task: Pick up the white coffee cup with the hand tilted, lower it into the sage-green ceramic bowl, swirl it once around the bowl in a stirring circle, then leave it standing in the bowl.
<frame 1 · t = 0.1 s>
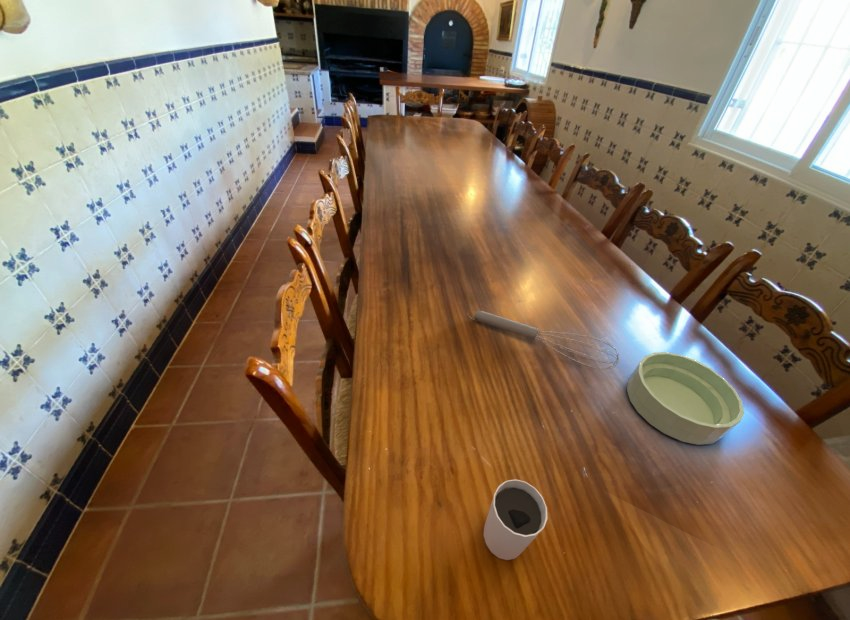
white coffee cup: (503, 536, 50), on the table
bowl: (672, 405, 70), on the table
kitchen whisk: (535, 344, 81), on the table
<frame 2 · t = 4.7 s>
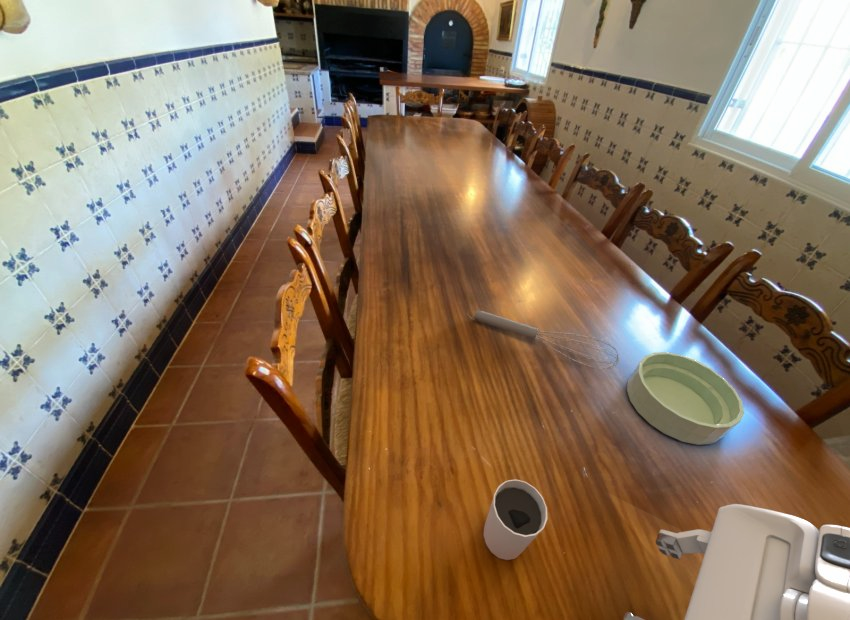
hand: (643, 579, 34), 15 cm above the table, tool tilted 45°, fingers open, 8 cm apart
nothing on the table moved.
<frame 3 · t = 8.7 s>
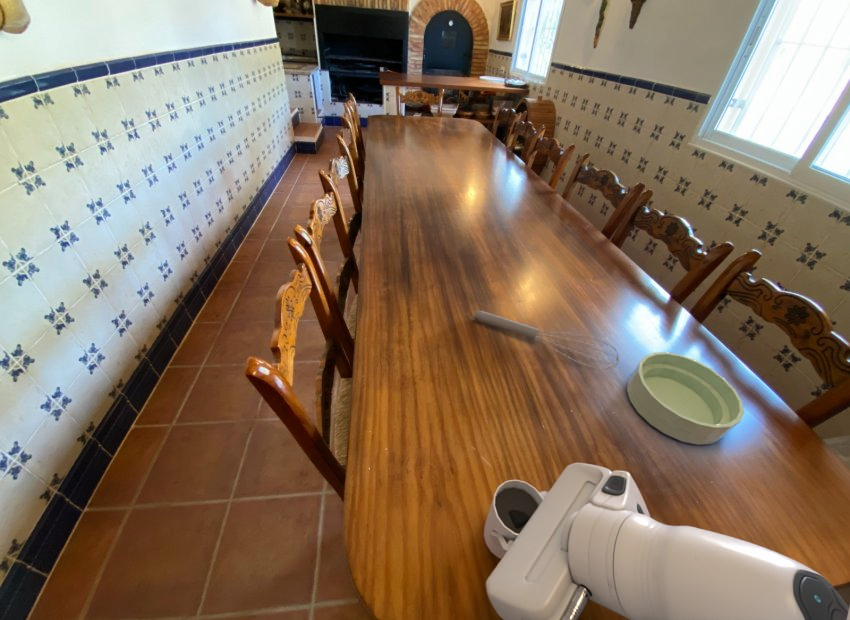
hand: (508, 517, 47), 5 cm above the table, tool tilted 45°, fingers closed on white coffee cup, 4 cm apart
white coffee cup: (503, 536, 50), on the table, touching gripper
everything else where it was.
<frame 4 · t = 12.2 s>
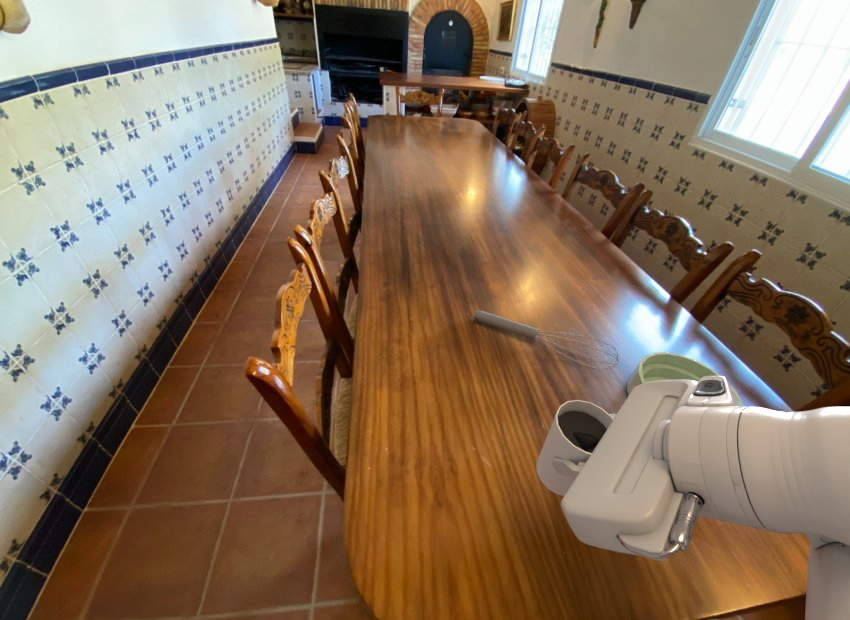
hand: (568, 445, 41), 19 cm above the table, tool tilted 45°, fingers closed on white coffee cup, 4 cm apart
white coffee cup: (559, 473, 44), point 14 cm above the table, touching gripper
everything else where it was.
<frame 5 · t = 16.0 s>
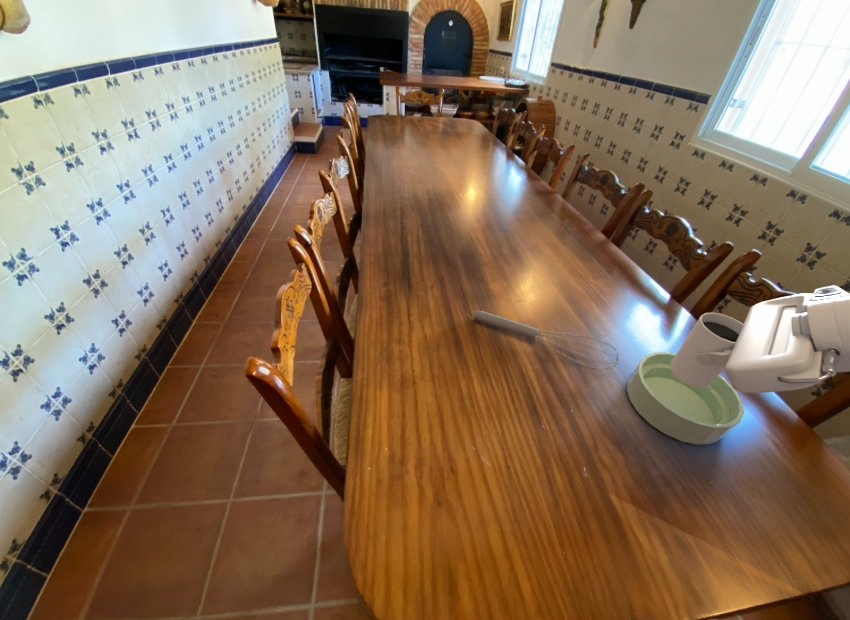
hand: (703, 347, 54), 20 cm above the table, tool tilted 45°, fingers closed on white coffee cup, 4 cm apart
white coffee cup: (688, 374, 57), point 14 cm above the table, touching gripper
everything else where it was.
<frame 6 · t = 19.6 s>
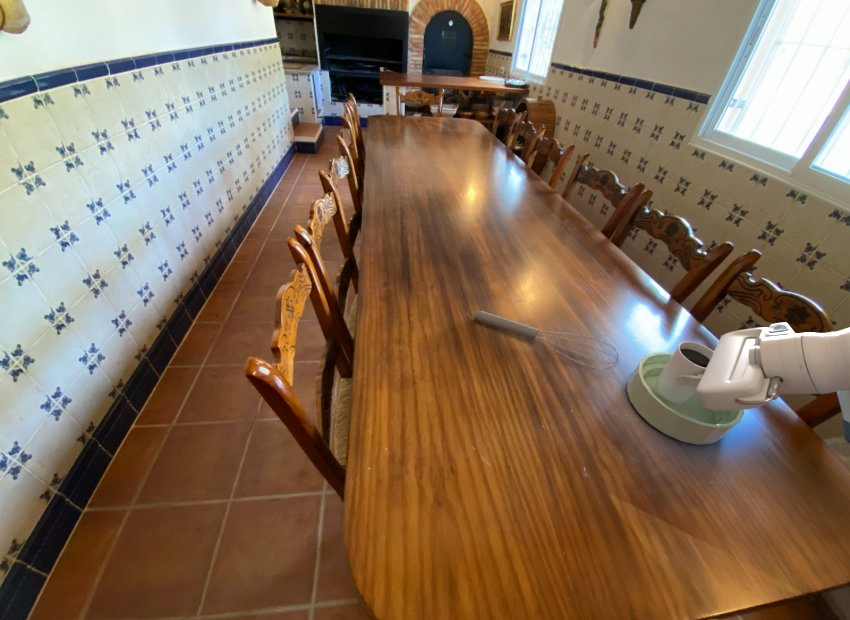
hand: (682, 370, 65), 9 cm above the table, tool tilted 45°, fingers closed on white coffee cup, 4 cm apart
white coffee cup: (670, 391, 68), point 3 cm above the table, touching gripper
everything else where it was.
when the fingers open (6 cm above the table, at t = 23.2 s): white coffee cup stays where it is, resting on bowl.
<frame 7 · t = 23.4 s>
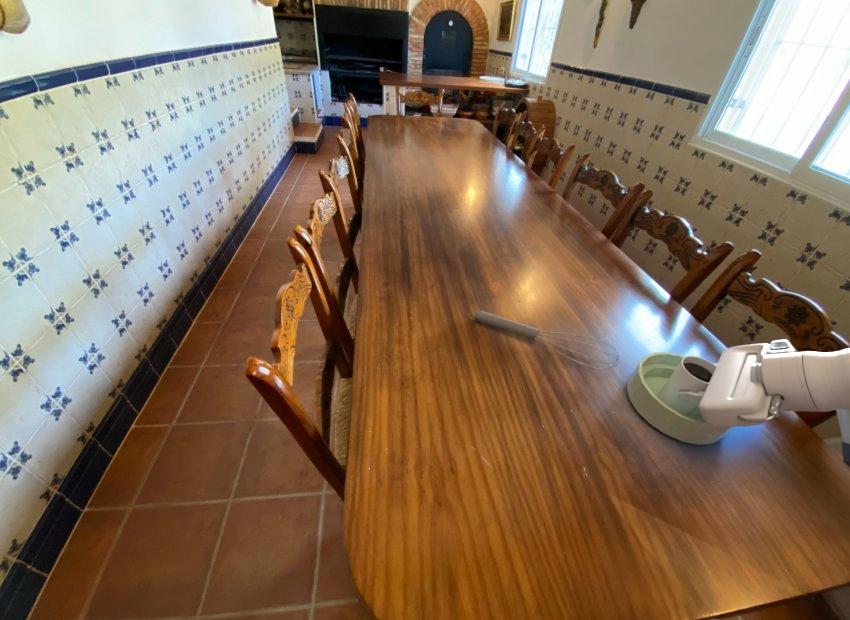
hand: (684, 384, 67), 6 cm above the table, tool tilted 45°, fingers open, 6 cm apart
white coffee cup: (673, 404, 70), resting on bowl
everything else where it was.
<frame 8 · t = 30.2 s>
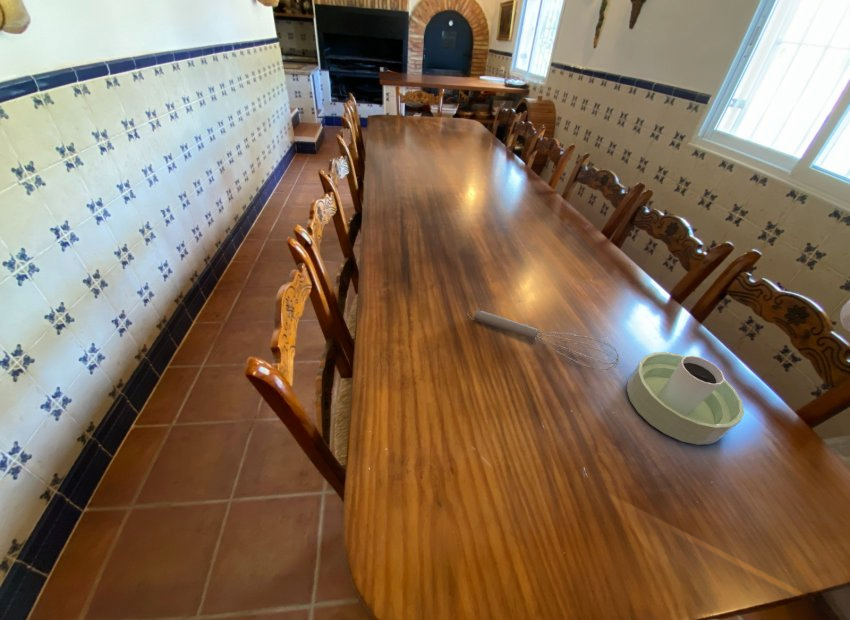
nothing on the table moved.
at the end: white coffee cup inside the target area in the bowl (0.0 cm from its centre), point 0.4 cm above the bowl's base; white coffee cup tilted 0°; the gripper is holding nothing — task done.
